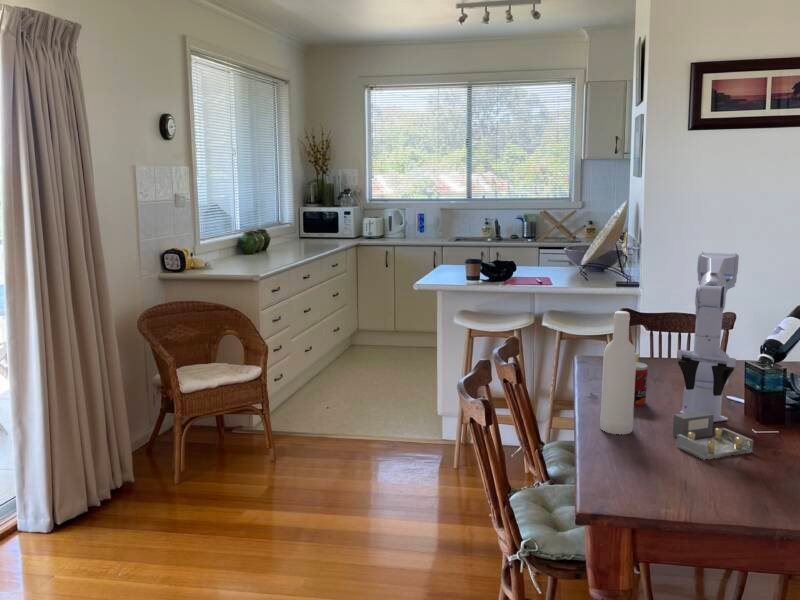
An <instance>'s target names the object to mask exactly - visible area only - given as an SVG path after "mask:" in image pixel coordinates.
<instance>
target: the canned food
mask: <svg viewBox="0 0 800 600" xmlns="http://www.w3.org/2000/svg"><path fill="white" fill-rule="evenodd" d="M648 372H649V371H648V365H647V364H646V363H643V362H639V361H638V362H636V373H635V391H634V407H641V406H644V405H645V404H646V402H647V385H648Z"/></svg>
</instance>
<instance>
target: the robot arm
mask: <svg viewBox="0 0 800 600" xmlns="http://www.w3.org/2000/svg"><path fill="white" fill-rule="evenodd" d="M739 257H740V256H739V254H738V253H737V252H735V253H726V252H724V253H721V252H704V251H700V252H699V253H698V258H697V267H696V268H697V269H696V270H697V271H696V272H697V282H698V285H699V286H698V287H696V288H695V296H694V306H695V317H696V318H695V325H694V326H695V328H694V340H693V341H694V342H693V350H687V349H678V351H677V358H678V360H677V364H678V366H679V368H680V369H681V373H682V375H683V380H684V385H685V386H684V389H683V394H682V395H683V398H682V409H681V410H680V411H679V414H682V413H689V412H697V411H705V412H708V413H710V414H713V415H714V417H713V423H715V422H716V423H717V422H722V421H723V422H724V421H728V420H729V418H728V417H726V416H724V415H721V414H722V401H723V390H724V388H725V386H727V385H728V384H729V379H730V376H731V374H732V373H733V372H734V371H735V367H736V365H737V363H736V362H737V358H735V357H730V355H728V353H726V352H725V351H724V350H723V349H721V337H722V325H723V316H724V310H725V307H726V300H727V299H726V297H727V292H728V290H730V289H733V288H735V287H736V283H737V279H738V278H737V277H738V272H739V259H740V258H739ZM679 359H680V360H679Z"/></svg>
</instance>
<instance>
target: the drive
mask: <svg viewBox="0 0 800 600" xmlns="http://www.w3.org/2000/svg"><path fill="white" fill-rule="evenodd" d="M713 417H714V415H713V414H710V413H708V412H705V411H697V412H689V413H682V414H681V413H676V414H675V413H674V414H673V423H672V437H675V438H677V435H678V434H681V435H684V436H686V437H688V432H694V433H695V439H702V438H709V437H713V431H714V430H713V429H714V426H713V425H714V422H713Z"/></svg>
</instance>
